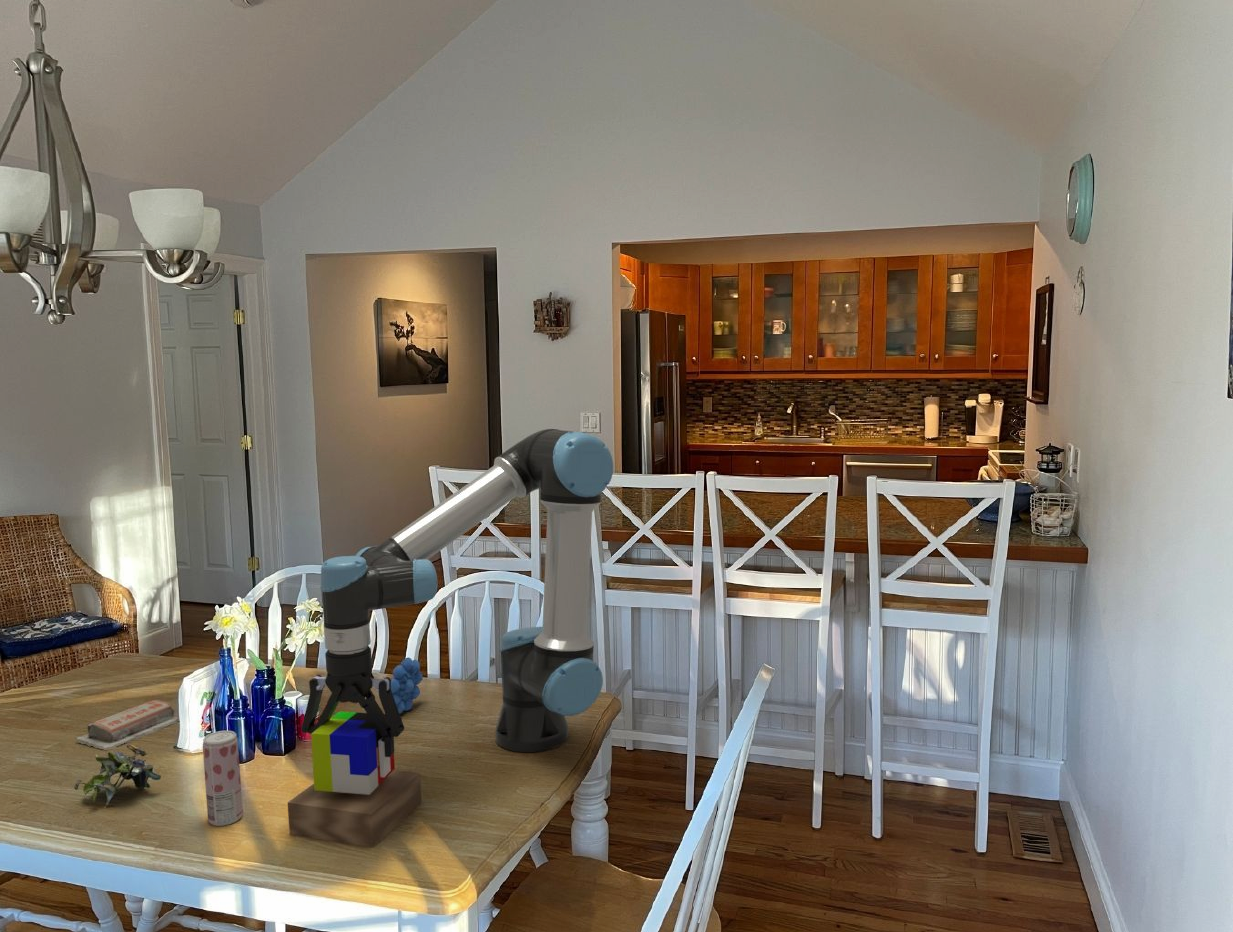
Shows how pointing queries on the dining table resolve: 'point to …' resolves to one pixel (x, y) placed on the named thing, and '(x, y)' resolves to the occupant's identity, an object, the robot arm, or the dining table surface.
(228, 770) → the beverage can
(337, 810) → the walnut block
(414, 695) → the grapes
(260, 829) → the dining table surface
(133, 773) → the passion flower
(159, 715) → the packaged product
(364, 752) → the puzzle toy
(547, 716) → the robot arm
